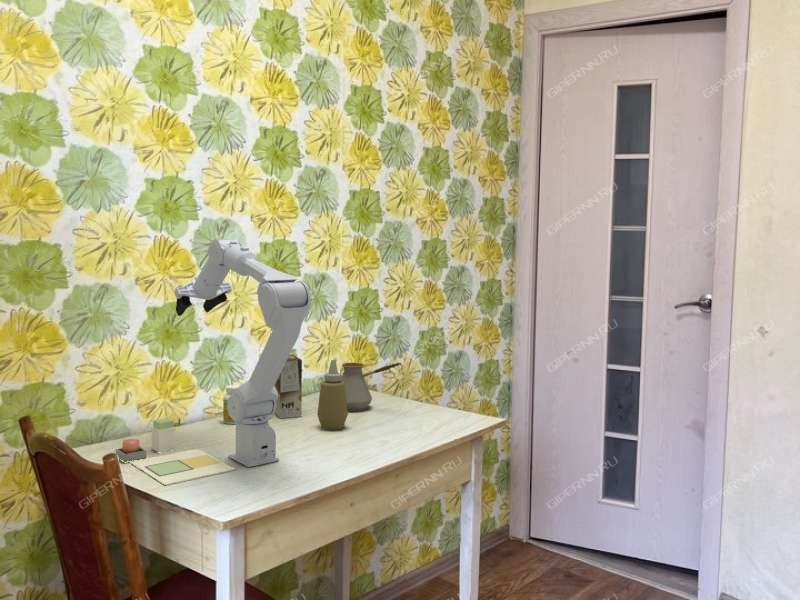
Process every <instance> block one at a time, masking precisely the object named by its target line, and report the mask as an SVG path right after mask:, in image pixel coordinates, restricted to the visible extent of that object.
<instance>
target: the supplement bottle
mask: <svg viewBox="0 0 800 600" xmlns="http://www.w3.org/2000/svg"><path fill="white" fill-rule="evenodd" d="M239 386H241V385H239V384H228V385H226V387H225V392H226V393H225V394H224V395H223V399H222V400H223V405H222V406H223V410H222V411H223V415H222V416H223V418H222V420H223V423H224V424H227V425H236V422H235V421H233V419H232V418H231V417H230V415H229V413H228V409H227V402H228V399H229V397H230V395H231V394H233V393H234V392H235V391H236V389H237V388H238V387H239Z"/></svg>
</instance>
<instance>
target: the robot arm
mask: <svg viewBox="0 0 800 600" xmlns="http://www.w3.org/2000/svg"><path fill="white" fill-rule="evenodd" d="M207 250H208V251H207V252H208V253H207V254H208V258H207V259H206V261H205V263H204V265H203V267H202V269H201V270H200V272H199V274H198V275H195V277H194V280H192V281H191V282H188V283H187V284H184V285H180V286H176V287H175V290H174V292H173V293H174V296H175V298H176V305H175V312H176V314H177V316H178V317H181V316H182V315H184V313H185V311H187V309H188V308H189V307H191V306H193V303H192V302H191V298H195V299H198V300H199V299H200V300H205V301H204V302H203V305H202V307H203V309H204V312H205V313H209V312H211V311H212V310H214V308H215V307H217V306H218V305H220V304H223V303H226V302H227V300H228V297H227V295H228V294H231V292H232V290H233V287H232V285H231V283H230V282H224V281H225V279H226V277H227V276H228V274H229V272H230V271H233V272H235V273H236V274H238V275H240V276H242V277H247V276H248V277H249V276H250V277H252V278H253V279H254V280H255V281H256V282H258V286H257V290H256V294H257V301H258V304H259V308H260V312H261V313H262V316H263V320H264V323H265V325H266V327H267V328H268V329H271V330H272V331H271V333H270V335H269V337H268V340H267V341H266V343H265V346H264V348H263V349H262V352H261V353H260V356H259V359H258V361H257V363H256V365H255V367H254V369H253V371H252V372H251V373H252V374H251V376H250V378H249V380H248V381H246V382H244V383H241V385H240V386H239V387H238V388H237V389H236V391H235V392H234V393H233V394H231V395H230V397H229V399H228V402H227V409H228V413H229V415H230V417H231V418H232V419H233V421H235V422H236V424H235V453H229V454H228V455H227V457H228V458H230V459H232V460H234V461H235V462H237V463H240V464H242V465H244V466H246V467H249V468H251V467H256V466H260V465H265V464H269V463H273V462H277V461H278V462H279V461H280V458H279V457H278V456H277V457H276V455H277V454H276V453H277V451H276V447H277V442H276V441H277V434H276V431H275V430H274V428H273V427H271V426H270V424H269V420H271V419H272V415H274V414H275V413H274V412H275V409H276V402H277V399H278V397H279V396H278V393H277V390H276V388H275V387H274V385H275V383H276V381H277V379H278V377H279V375H280V373H281V371H282V369H283V367H284V365H285V363H286V361H287V359H288V357H289V355H291V352H292V350H293V348H294V346H295V344H297V343H296V342H297V341H298V338H299V336H300V334H301V329H302V325H303V322H304V320H305V319H306V316H307V314H308V312H309V310H310V308H311V306H312V300H311V293H310V289H309V287H308V285H307V284H306V283H305V282H304V281H302V280H299V279H298V278H297V277H296V276H294V275H291V274H288V273H285V272H283V271H280V270H277V269H276V268H273V267H271V266H269V265H267V264H264V263H262V262H260V261H259V260H258V259H259V258H258V257H257V255H256V254H255V253H254V252H252V251H251V250H250V248H249V247H248V246H243V244H241V242H240V241H239V240H237V239H212V240H211V241H210V243H209V245H208V249H207ZM297 280H299V281H297Z"/></svg>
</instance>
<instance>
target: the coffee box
mask: <svg viewBox="0 0 800 600" xmlns="http://www.w3.org/2000/svg"><path fill="white" fill-rule="evenodd" d="M302 365H303V359H301V358H299V357H297V356H296V355H294V354H290V355H289V357H288V359H287V361H286V363H285V365H284V367H283V369H282V371H281V373H280V375H279V377H278V379H277V381H276V383H275V385H274V387H275V388H276V390H277V393H278V396H279V397H278V399H277V402H276V409H275V412H274V413H273V414H275V415H276V416H277V417H278V418H280V419H288V418H298V417H299V418H300V417H302V399H303V398H302V393H303V392H302V389H303V388H302V387H303V382H302V381H303V379H302V378H303V366H302Z"/></svg>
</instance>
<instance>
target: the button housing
mask: <svg viewBox="0 0 800 600" xmlns="http://www.w3.org/2000/svg"><path fill="white" fill-rule="evenodd" d="M116 454H117V455H118V457H119V459H121V460H123V461H124V462H127V461H132V460H133V461H134V460H140V459H146V458H147V450H146V449H144V448H143V447H141V446H140V451H139V452H134V453H129V454H124V453H123V447H120V448H116V449H115V455H116Z"/></svg>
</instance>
